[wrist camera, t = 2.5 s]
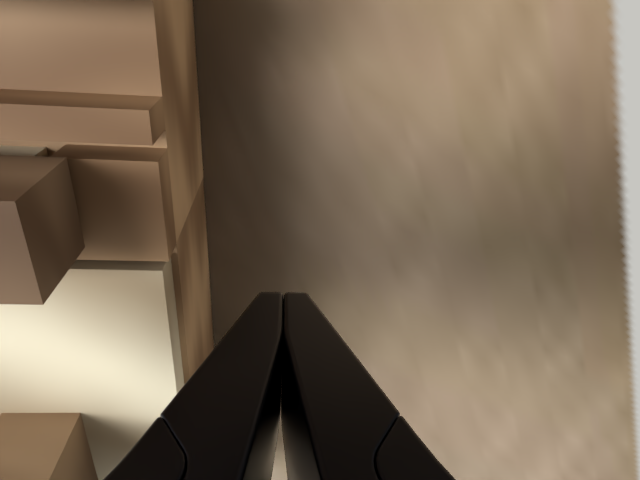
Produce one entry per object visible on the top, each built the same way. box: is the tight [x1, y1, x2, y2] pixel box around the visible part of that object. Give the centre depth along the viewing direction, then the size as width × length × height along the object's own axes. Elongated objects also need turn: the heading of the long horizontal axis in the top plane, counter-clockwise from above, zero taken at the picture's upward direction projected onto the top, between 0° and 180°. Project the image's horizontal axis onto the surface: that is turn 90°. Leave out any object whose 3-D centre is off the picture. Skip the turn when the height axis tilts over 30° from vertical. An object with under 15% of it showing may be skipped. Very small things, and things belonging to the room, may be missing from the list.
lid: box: [0, 145, 184, 480], centre depth 14 cm, size 17×9×6 cm, turn 176°
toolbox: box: [0, 0, 214, 385], centre depth 16 cm, size 22×9×7 cm, turn 176°
